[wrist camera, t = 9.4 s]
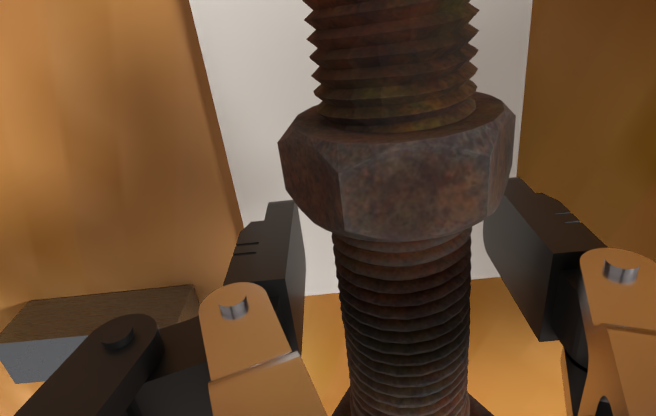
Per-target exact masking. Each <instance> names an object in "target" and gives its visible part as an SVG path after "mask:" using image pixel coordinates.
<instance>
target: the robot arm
mask: <svg viewBox="0 0 656 416" xmlns="http://www.w3.org/2000/svg"><path fill="white" fill-rule="evenodd" d="M483 241H484V246H485V250H486V252H487V254H488V256H489V258H490V260H491V261H492V263H493V265H494V266H495V268H496V270H497V271H498V273H499V275H500V276H501V278H502V280H503V281H504V283H505V285H506V287H507V288H508V290H509V292H510V293H511V295H512V297H513V298H514V300H515V302H516V303H517V305H518V307H519V309H520V310H521V312H522V314H523V315H524V317H525V319H526V320H527V322H528V324H529V325H530V327H531V329H532V330H533V332H534V334H535V336H536V337H537V339H538V341H539V342H544V341H555V340H560V342H561V343H562V345H563V349H562V355H561V370H562V379H563V387H564V396H565V404H566V413H567V416H656V263H655V262H654V261H652V260H651V259H649V258H647V257H645V256H643V255H641V254H638V253H635V252H632V251H628V250H624V249H618V248H608V247H607V246H606V245H605V244H604V243H603V242H601V241H600V240H599V239H598V238H597V237H596V236H595V235H594V234H593V233H592V232H591V231H590V230H589V229H588V228H587V227H586V226H585V225H584V224H583V223H580V222H579V220H578V219H577V218H576V217H575V216H574V215H573V214H570V211H569V210H568V209H567V208H566V207H565V206H564V205H563V204H562V203H561V202H559V201H558V200H556V199H553V198H551V197H549V196H547V195H545V194H543V193H535V192H534V191H533V190H532V189H531V188H530V187H529V186H528V185H527V184H526V183H525V182H524V181H523V180H522V179H521V178H519V177H512V178H509V179H508V183H507V186H506V189H505V192H504V195H503V197H502V200H501V203H500V205H499V206H498V208H497V209H496V211H495V212H494V213H493V214H492V215H490V216H489V217H488V218H486V219H485V220H484V221H483ZM305 280H306V258H305V249H304V243H303V237H302V230H301V224H300V218H299V211H298V206H297V205H296V203H295V202H294V201H293V200H285V201H275V202H269V203H268V206H267V210H266V214H265V219H264V220H263V221H253V222H250V223H249V224H248V225H247V226H246V227H245V228H244V229H243V230H242V231H241V232H240V234H239V237H238V240H237V244H236V247H235V250H234V253H233V256H232V259H231V262H230V265H229V268H228V272H227V275H226V278H225V281H224V284H223V287H221V288H219V289H217V290H215V291H213V292H212V293H210V294H209V295H208V296H207V297H206V298H205V299H204V300H203V302H202V303H201V305H200V307H199V311H198V312H199V315H198V316H196V317H194V318H192V319H189V320H186V321H183V322H180V323H177V324H174V325H171V326H168V327H165V328H161V329H158V326H157V324H156V321H155V320H154V319H153V318H152V317H150V316H148V315H145V314H128V315H124V316H120V317H117V318H115V319H112V320H110V321H108V322H106V323H104V324H103V325H101V326H99V327H98V328H97V329H95V330H94V331H93V332H92V333H91V334H90V335H89V336H88V337H87V338H86V339H85V340H84V341H83V342H82V343H81V344H80V345H79V346H78V347H77V348H76V349H75V350H74V352H73V353H72V354H71V355H70V356H69V357H68V358H67V359H66V360H65V361H64V362H63V363H62V364H61V365H60V367H59V368H58V369H57V370H56V371H55V372H54V373H53V374H52V375H51V376H50V377H49V378H48V379H47V380H46V381H45V383H44V384H43V385H42V386H41V387H40V388H39V389H38V390H37V391H36V392H35V393H34V394H33V395H32V396H31V398H30V399H29V400H28V401H27V402H26V403H25V404H24V405H23V406H22V407H21V408H20V409H19V410H18V411H17V412H16V414H15V415H14V416H327V414H326V411H325V409H324V407H323V405H322V403H321V400H320V398H319V396H318V394H317V392H316V389H315V387H314V385H313V383H312V380H311V378H310V376H309V374H308V372H307V369H306V367H305V365H304V363H303V361H302V358H301V352H302V334H303V316H304V298H305Z"/></svg>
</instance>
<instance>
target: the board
mask: <svg viewBox="0 0 656 416" xmlns="http://www.w3.org/2000/svg"><path fill="white" fill-rule="evenodd" d="M189 2H190V6H191V10H192V15H193V19H194V23H195V27H196V31H197V35H198V39H199V44H200V48H201V52H202V56H203V60H204V64H205V68H206V73H207V77H208V81H209V85H210V89H211V93H212V97H213V102H214V106H215V110H216V114H217V118H218V122H219V126H220V130H221V135H222V139H223V143H224V147H225V151H226V155H227V159H228V164H229V168H230V172H231V176H232V180H233V184H234V188H235V193H236V197H237V201H238V205H239V209H240V213H241V217H242V222H243V226H244V228H245V227H246V226H247V225H248V224H249V223H250V222H253V221H263V220H264V219H265V214H266V210H267V206H268V203H269V202H275V201H285V200H293V199H292V198H291V196H290V195H289V194H288V192H287V191H286V190H285V184H284V178H283V173H282V167H281V161H280V155H279V150H278V144H277V142H278V141H279V140H280V138H281V137H282V136H283V134H284V133H285V131H286V130H287V129H288V127H289V126H290V125H291V123H292V122H293V121H294V119H295V118H296V116H297V115H298V114H300V113H302V112H304V111H305V110H307V109H309V108H311V107H313V106H315V105H318V104H320V103H321V102H322V100H321V99H319V98H318V97H316V96H315V94H314V90H315V89H316V88H317V87H318V86H319V85H320V84H321V83H319V82H318V81H317V80H315V79H314V78H313V77H311V75H312V74H313V73H314V72H315V71H316V70H317V68H318V67H319V65H317V64H316V63H315V62H314V61H312V60H311V59H310V57H309V56H310V55H311V54H312V53H313V52H314V51H315V50H316V49H317V47H316V46H314V45H313V44H312V43H310V42H309V41H308V40H306V39H307V38H308V37H309V36H310V35H311V34H312V33H313V32H314V31H315V30H316V29H315V28H313V27H312V26H311V25H309V24H308V23H307V22H306V21H304V19H305V18H306V17H307V16H308V15H309V14H310V13H311V12H312V11H313V10H312V9H311V8H310V7H309V6H308V5H307V4H305V3H304V2H303V1H302V0H189ZM532 2H533V0H471V1H470V2H469V3H470V4H471V5H473V6H474V7H476V8H477V9H479V10H480V11H479V12H478V13H477V14H476V15H475V16H474V17H473V18H472V19H471V21H470V22H469V24H470V25H472V26H473V27H475V28H476V29H478V30H479V31H478V33H477V34H476V35H475V36H474V37H473V38H472V39H471V40H470V41H469V42H468V43H469V44H470V45H472V46H474V47H476V48H477V49H478V52H477V53H476V55H475V56H474V57H473V58H472V59H471V60H470V61H469V62H471V63H472V64H473V65H474V66H476V67H477V68H478V70H477V72H476V74H475V75H474V76H473V77H472V78H470V80H471V81H473V82H474V83H475V84H476V86H477V89H476V91H477V92H481V93H485V94H488V95H491V96H493V97H496V98H498V99H500V100H502V101H503V102H504V104H505V105H506V106H507V107H508V108H509V109H510V110H511V111H512V112H513V113H514V114H515V115H516V121H515V134H514V147H513V161H512V168H511V171H510V175H509V178H512V177H516V174H517V163H518V152H519V142H520V131H521V120H522V109H523V99H524V88H525V77H526V66H527V56H528V45H529V34H530V23H531V13H532ZM298 211H299V218H300V224H301V230H302V237H303V243H304V249H305V258H306V280H305V296H310V295H320V294H331V293H340V291H339V289H338V279H337V277H336V266H335V256H334V252H333V246H334V244H333V242H332V237H331V236H332V232H330V231H327V230H325V229H323V228H321V227H319V226H318V225H316V224H314V223H313V222H312V221H311V220H310V219H309V218H308V217H307V216H306V215H305V214H304V213H303V212H302V211H301V210H300V209H299V207H298ZM471 241H472V243H471V247H470V248H471V254H472V256H471V267H472V268H471V271H470V273H471V280H474V279H484V278H494V277H501V276H500V275H499V273H498V271H497V270H496V268H495V266H494V265H493V263H492V261H491V260H490V258H489V256H488V254H487V252H486V250H485V246H484V241H483V221H482V222H480V223H478V224H476V225H474V226H472V232H471Z"/></svg>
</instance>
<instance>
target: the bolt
mask: <svg viewBox="0 0 656 416" xmlns="http://www.w3.org/2000/svg"><path fill="white" fill-rule="evenodd" d="M302 1H303V2H304V3H305V4H307V5H308V6H309V7H310V8H311V9H312V10H313V11H312V12H311V13H310V14H309V15H308V16H307V17H306V18H305V19H304V21H306V22H307V23H308V24H309V25H311V26H312V27H313V28H315V29H316V30H315V31H314V32H313V33H312V34H311V35H310V36H309V37H308V38H307V39H306V40H308V41H309V42H310V43H312V44H313V45H314V46H316V47H317V49H316V50H315V51H314V52H313V53H312V54H311V55H310V56H309V57H310V59H311V60H312V61H314V62H315V63H316V64H317V65H319V67H318V68H317V70H316V71H315V72H314V73H313V74H312V75H311V77H313V78H314V79H315V80H317V81H318V82H319V83H321V84H320V85H319V86H318V87H317V88H316V89H315V90H314V94H315V96H316V97H318V98H319V99H321V100H322V102H321V103H320V104H318V105H315V106H313V107H311V108H309V109H307V110H305V111H304V112H302V113H300V114H298V115H297V116H296V118H295V119H294V121H293V122H292V123H291V125H290V126H289V127H288V129H287V130H286V131H285V133H284V134H283V136H282V137H281V138H280V140H279V141H278V142H277V144H278V150H279V155H280V161H281V167H282V173H283V178H284V184H285V190H286V191H287V192H288V194H289V195H290V196H291V198H292V199H293V201H294V202H295V203H296V205H297V206H298V207H299V209H300V210H301V211H302V212H303V213H304V214H305V215H306V216H307V217H308V218H309V219H310V220H311V221H312V222H313V223H314V224H316V225H318V226H319V227H321V228H323V229H325V230H327V231H330V232H332V236H331V237H332V242H333V244H334V246H333V252H334V256H335V266H336V277H337V279H338V289H339V291H340V295H339V299H340V301H341V311H342V320H343V324H344V328H345V338H346V348H347V357H348V367H349V378H350V387H349V388H348V390H347V392H346V393H345V395H344V397H343V398H342V400H341V401H340V403H339V405H338V406H337V408H336V409H335V411H334V413H333V414H332V416H494V415H493V414H491V413H490V412H489V411H488V410H487V409H486V408H485V407H483V406H482V405H481V404H480V403H479V402H478V401H477V400H476V399H474V398H473V397H472V396H471V395H470V394H469V393H468V392H467V383H468V380H467V375H468V368H467V366H468V348H469V335H470V328H469V326H470V299H469V297H470V290H471V285H470V282H471V273H470V271H471V268H472V267H471V256H472V254H471V248H470V247H471V243H472V241H471V232H472V226H474V225H476V224H478V223H480V222H482V221H484V220H485V219H486V218H488V217H489V216H490V215H492V214H493V213H494V212H495V211H496V209H497V208H498V206H499V205H500V203H501V200H502V197H503V195H504V192H505V189H506V186H507V183H508V179H509V175H510V171H511V168H512V161H513V147H514V134H515V121H516V115H515V114H514V113H513V112H512V111H511V110H510V109H509V108H508V107H507V106H506V105H505V104H504V102H503V101H502V100H500V99H498V98H496V97H493V96H491V95H488V94H485V93H481V92H477V91H476V89H477V86H476V84H475V83H474V82H473V81H471V80H470V78H472V77H473V76H474V75H475V74H476V72H477V70H478V68H477V67H476V66H474V65H473V64H472V63H471V62H469V61H470V60H471V59H472V58H473V57H474V56H475V55H476V53H477V52H478V49H477V48H476V47H474V46H472V45H470V44H469V43H468V42H469V41H470V40H471V39H472V38H473V37H474V36H475V35H476V34H477V33H478V31H479V30H478V29H476V28H475V27H473V26H472V25H470V24H469V22H470V21H471V19H472V18H473V17H474V16H475V15H476V14H477V13H478V12H479V11H480V10H479V9H477V8H476V7H474V6H473V5H471V4H470V3H469V2H470V1H471V0H302Z"/></svg>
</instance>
